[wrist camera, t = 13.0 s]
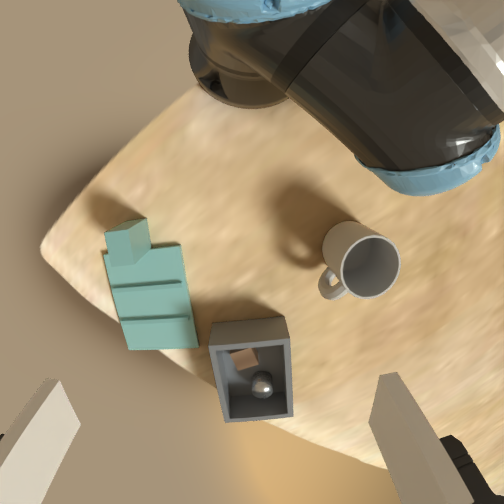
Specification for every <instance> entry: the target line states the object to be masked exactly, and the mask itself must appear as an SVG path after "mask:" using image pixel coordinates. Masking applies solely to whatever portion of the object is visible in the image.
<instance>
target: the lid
mask: <svg viewBox="0 0 504 504" xmlns="http://www.w3.org/2000/svg"><path fill="white" fill-rule="evenodd" d="M104 234H105V240H106V245H107V249H108V253H106V254H104V255H103V256H104V260H105V265H106V269H107V273H108V278H109V282H110V286H111V290H112V294H113V297H114V301H115V305H116V309H117V312H118V316H119V319H120V323H121V326H122V329H123V333H124V336H125V339H126V342H127V345H128V348H129V350H153V349H155V350H156V349H182V348H199V341H198V336H197V331H196V326H195V321H194V316H193V311H192V306H191V301H190V295H189V290H188V284H187V279H186V273H185V267H184V261H183V255H182V249H181V245H174V246H166V247H157V248H152V247H151V241H150V235H149V229H148V223H147V218H144V219H137V220H130V221H125V222H123V223H121V224H120V225H118V226H116V227H114V228H112V229H110V230H108V231H107V232H105V233H104Z"/></svg>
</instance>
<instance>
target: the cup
mask: <svg viewBox="0 0 504 504" xmlns="http://www.w3.org/2000/svg"><path fill="white" fill-rule="evenodd" d="M322 253H323V258H324V260H325V262H326V264H327V266H328V267H327V269H326V270H325V271H324V272H323V273H322V275H321V277H320V279H319V282H318V288H319V291H320V293H321V295H322V296H323V297H324V298H325V299H329V300H337V299H340V298H341V297H342V296H344V295H345V294H346V293H347V292H349V293H350V294H352V295H353V296H354V297H357V298H360V299H372V298H376V297H379V296H380V295H382V294H384V293H385V292H387V291H388V290H389V289H390V288H391V287H392V286H393V284H394V283H395V282H396V280H397V277H398V275H399V272H400V267H401V258H400V254H399V251H398V249H397V247H396V246H395V244H394V243H393V242H392V241H391V240H389V239H388V238H386V237H384V236H383V235H381V234H379V233H377V232H375V231H374V230H372V229H370V228H368V227H366V226H364V225H362V224H360V223H358V222H354V221H345V222H341V223H339V224H337V225H335V226H334V227H332V228H331V229H330V230H329V232H328V233H327V234H326V236H325V238H324V241H323V245H322ZM335 276H336V277H337V278H338V279H339V282H338V283H337V284H336V285H334V286H331V282H332V280H333V279H334V277H335Z"/></svg>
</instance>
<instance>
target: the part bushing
mask: <svg viewBox="0 0 504 504" xmlns="http://www.w3.org/2000/svg"><path fill="white" fill-rule="evenodd" d="M272 393H273V385H272V376H271V374H270V373H268V372H266V371H258V372H256V373H255V374H254V375H253V376H252V394H253V395H254V396H255V397H257V398H267V397H269V396H271V394H272Z"/></svg>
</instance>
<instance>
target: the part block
mask: <svg viewBox="0 0 504 504" xmlns="http://www.w3.org/2000/svg"><path fill="white" fill-rule="evenodd" d="M230 356H231V358H232V360H233V362H234V364H235V366H236V368H237V370H238V371H239V370H242V369H246V368H249V367H252V366H255V365H259V360H258V351H257V349H256V347H255V348H245V349H233V350H230Z"/></svg>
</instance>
